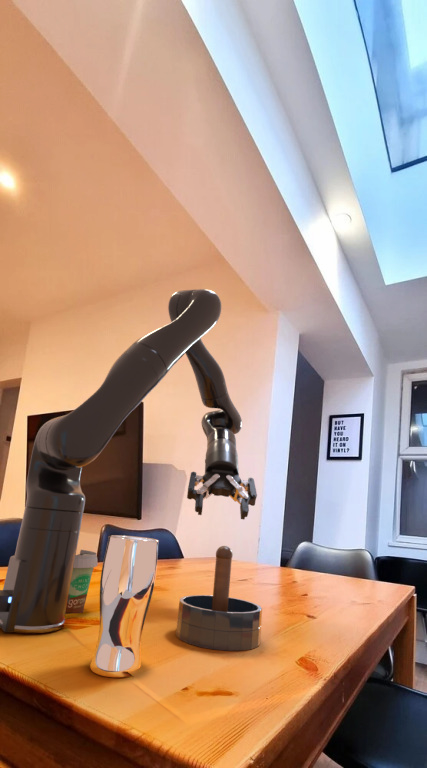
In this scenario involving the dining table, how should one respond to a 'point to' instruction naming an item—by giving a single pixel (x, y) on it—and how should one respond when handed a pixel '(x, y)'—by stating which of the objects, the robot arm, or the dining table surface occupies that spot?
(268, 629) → the dining table surface
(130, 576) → the beer glass
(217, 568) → the rod
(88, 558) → the food container
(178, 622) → the bowl
